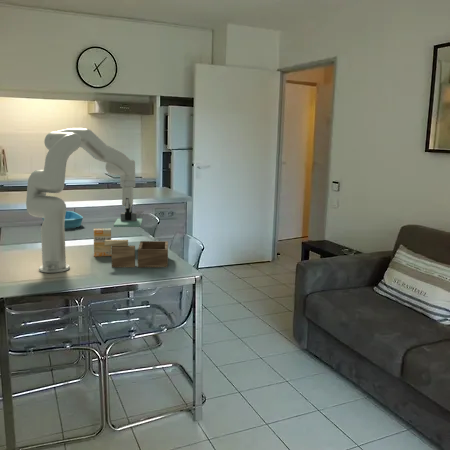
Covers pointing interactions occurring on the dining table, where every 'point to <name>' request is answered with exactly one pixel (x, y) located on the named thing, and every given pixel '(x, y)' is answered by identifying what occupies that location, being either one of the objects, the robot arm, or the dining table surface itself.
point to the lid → (128, 221)
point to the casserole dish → (72, 220)
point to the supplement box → (102, 242)
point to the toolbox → (141, 255)
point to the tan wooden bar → (116, 242)
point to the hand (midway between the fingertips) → (128, 219)
